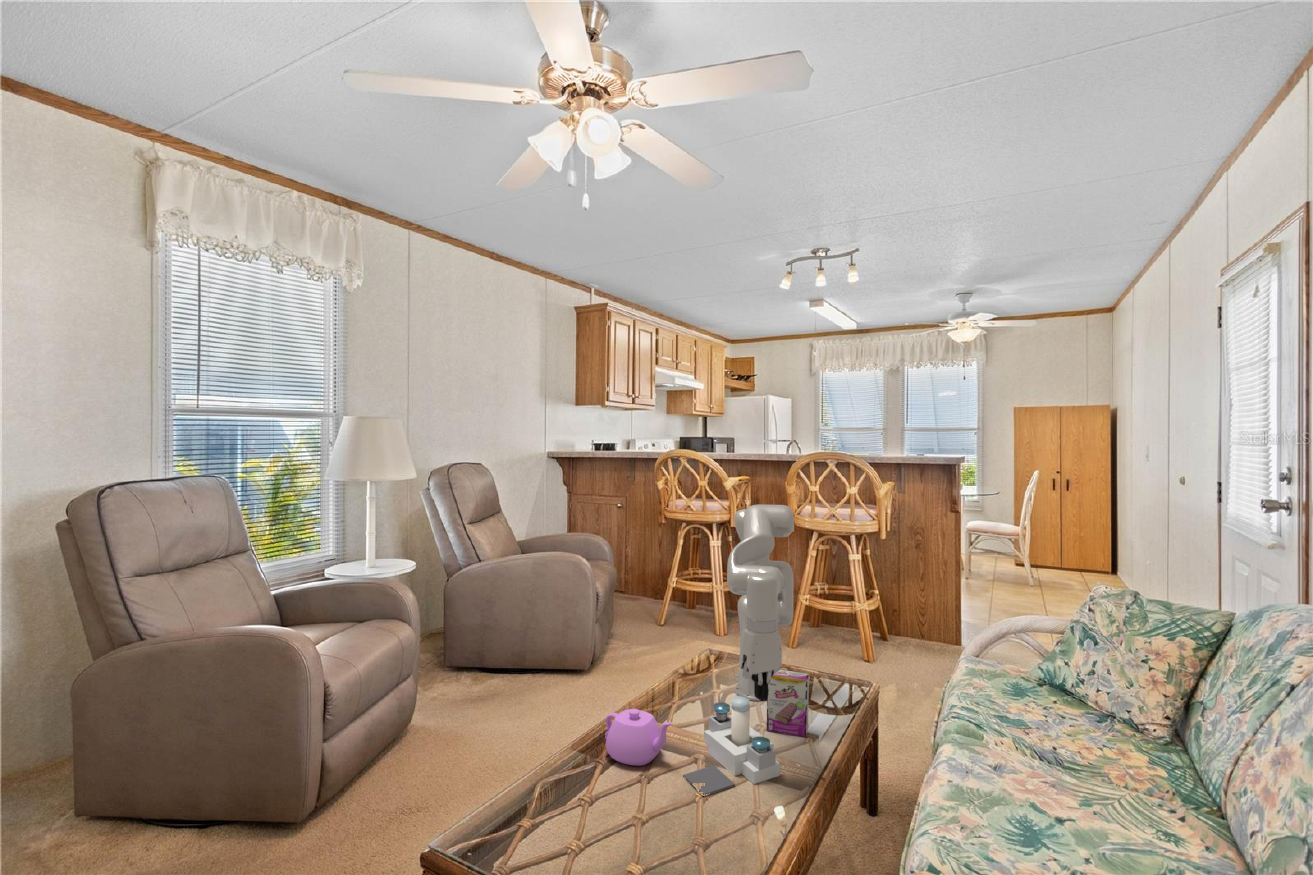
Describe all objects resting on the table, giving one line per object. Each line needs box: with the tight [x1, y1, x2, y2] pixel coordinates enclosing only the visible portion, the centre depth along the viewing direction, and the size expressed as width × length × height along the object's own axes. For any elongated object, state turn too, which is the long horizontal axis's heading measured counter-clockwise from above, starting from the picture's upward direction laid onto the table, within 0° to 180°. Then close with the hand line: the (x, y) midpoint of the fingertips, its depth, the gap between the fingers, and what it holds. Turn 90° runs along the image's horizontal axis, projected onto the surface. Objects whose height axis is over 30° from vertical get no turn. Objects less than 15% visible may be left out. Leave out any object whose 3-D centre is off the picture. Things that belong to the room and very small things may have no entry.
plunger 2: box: [752, 736, 771, 754], centre depth 150 cm, size 4×4×5 cm
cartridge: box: [731, 695, 751, 747], centre depth 157 cm, size 5×5×15 cm
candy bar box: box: [766, 669, 810, 738], centre depth 171 cm, size 11×5×16 cm, turn 71°
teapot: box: [604, 708, 673, 767], centre depth 158 cm, size 20×13×12 cm, turn 62°
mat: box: [682, 764, 736, 795], centre depth 147 cm, size 9×9×1 cm
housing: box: [703, 714, 781, 785], centre depth 157 cm, size 22×12×6 cm, turn 28°
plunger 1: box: [712, 701, 731, 723], centre depth 165 cm, size 4×4×5 cm
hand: (761, 698), depth 150 cm, fingers closed
